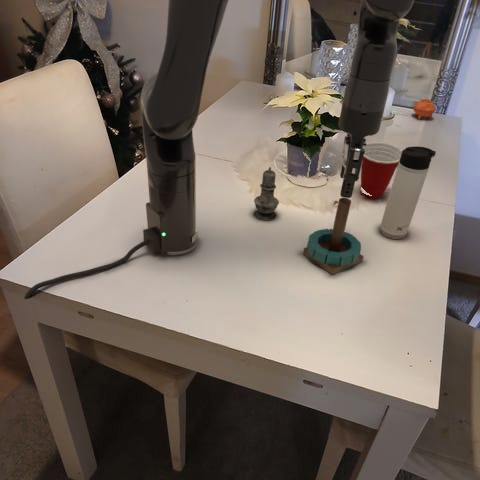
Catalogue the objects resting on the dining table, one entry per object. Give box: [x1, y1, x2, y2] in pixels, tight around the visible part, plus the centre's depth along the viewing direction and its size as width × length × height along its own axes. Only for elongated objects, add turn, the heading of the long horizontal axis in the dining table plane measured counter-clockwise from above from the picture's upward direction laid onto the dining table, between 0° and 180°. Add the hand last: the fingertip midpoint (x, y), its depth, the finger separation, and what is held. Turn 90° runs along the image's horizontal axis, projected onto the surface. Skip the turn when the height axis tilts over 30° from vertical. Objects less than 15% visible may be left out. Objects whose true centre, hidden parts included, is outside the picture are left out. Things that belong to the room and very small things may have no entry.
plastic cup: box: [360, 141, 403, 200], centre depth 122 cm, size 11×11×12 cm
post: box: [302, 197, 364, 276], centre depth 98 cm, size 9×9×14 cm
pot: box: [412, 98, 437, 120], centre depth 173 cm, size 8×8×7 cm
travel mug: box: [379, 146, 437, 240], centre depth 105 cm, size 6×7×20 cm
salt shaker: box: [253, 166, 280, 221], centre depth 111 cm, size 6×6×12 cm
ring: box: [306, 228, 362, 266], centre depth 101 cm, size 11×11×2 cm
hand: (345, 187), depth 96 cm, fingers open, 8 cm apart
